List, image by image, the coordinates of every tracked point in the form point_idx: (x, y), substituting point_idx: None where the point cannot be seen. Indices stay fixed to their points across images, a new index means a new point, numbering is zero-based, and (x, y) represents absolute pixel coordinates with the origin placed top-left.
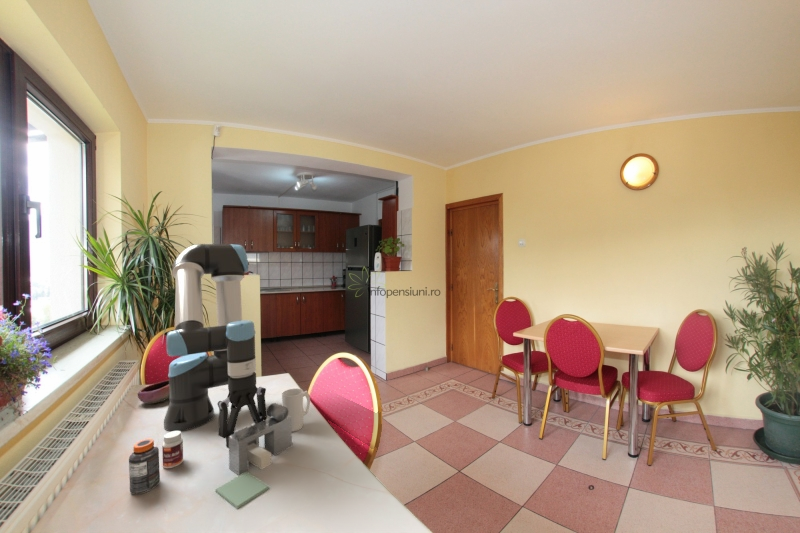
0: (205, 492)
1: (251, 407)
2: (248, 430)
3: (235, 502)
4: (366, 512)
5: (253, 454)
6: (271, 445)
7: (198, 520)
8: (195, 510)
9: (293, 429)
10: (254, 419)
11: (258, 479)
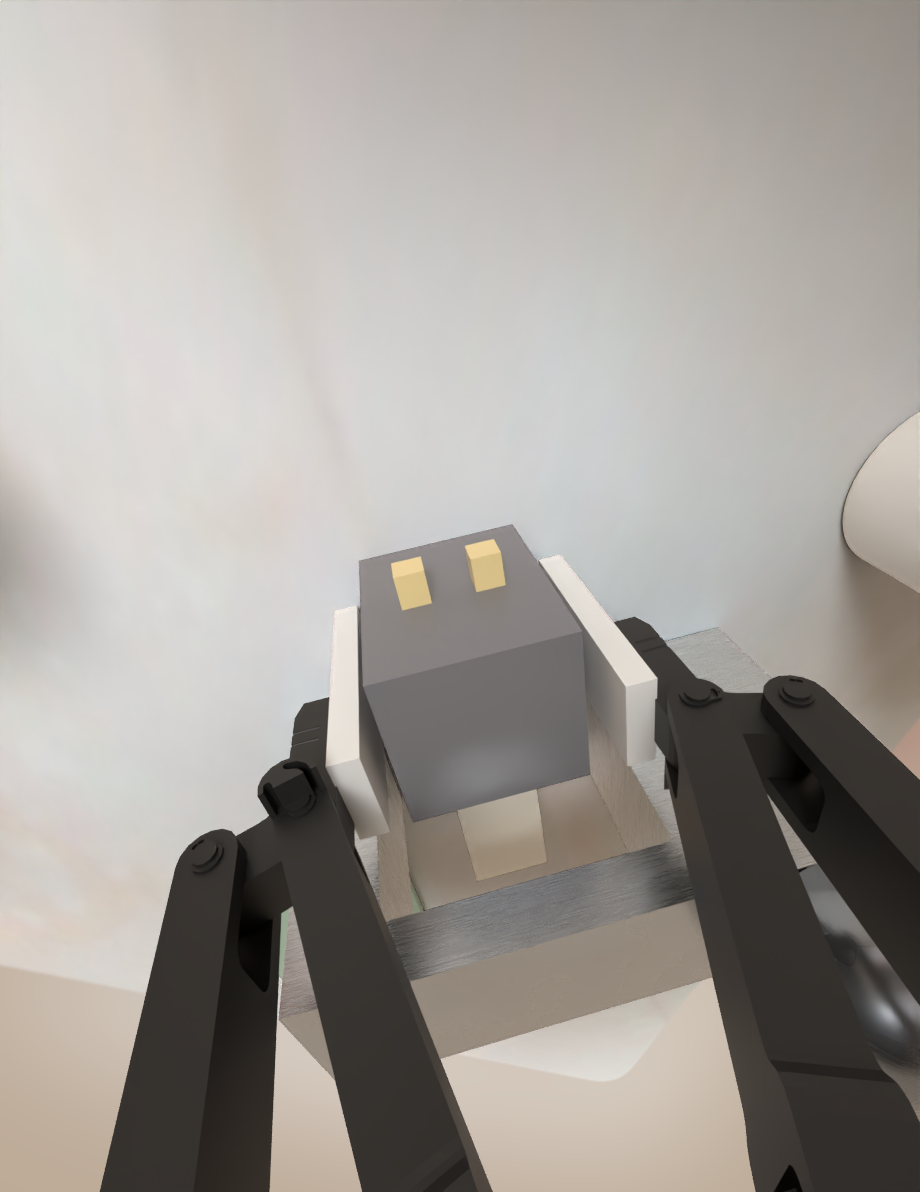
0: (149, 851)
1: (742, 1094)
2: (484, 994)
3: (282, 969)
4: (584, 1052)
5: (460, 822)
6: (601, 777)
7: (127, 970)
8: (106, 928)
9: (874, 566)
10: (689, 741)
11: (413, 898)
